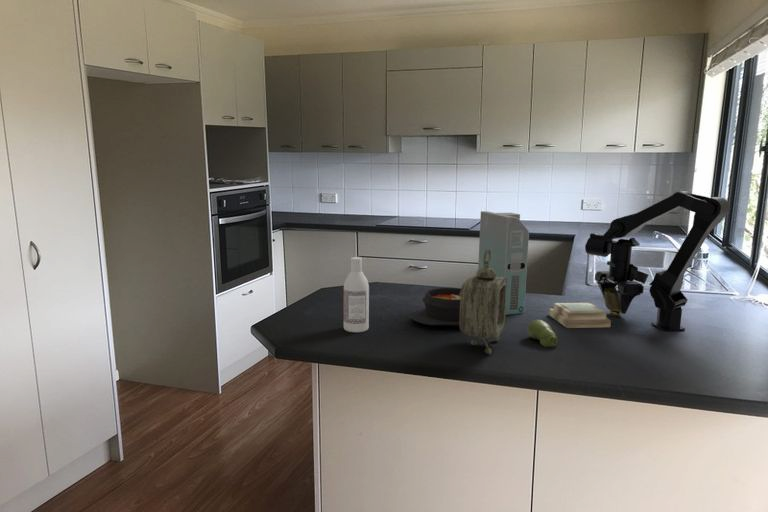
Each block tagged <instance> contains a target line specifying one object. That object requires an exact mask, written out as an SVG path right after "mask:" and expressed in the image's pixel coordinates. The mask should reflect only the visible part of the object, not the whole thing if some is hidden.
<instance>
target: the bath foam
mask: <svg viewBox="0 0 768 512" xmlns="http://www.w3.org/2000/svg"><path fill="white" fill-rule="evenodd" d="M362 266H363V259H362V257H360V256H359V257H358V256H357V257H356V256H354V257H351V258H350V272H349V273H348V275H347V277H346V278H345V280H344V283H343V329H344V330H345V331H346V332H349V333H363V332H366V331H368V330H369V327H370V285H369V281H368V279H367V277H366V276H365V274H364V272H363V267H362Z"/></svg>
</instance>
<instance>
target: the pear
mask: <svg viewBox="0 0 768 512" xmlns="http://www.w3.org/2000/svg"><path fill="white" fill-rule="evenodd" d="M527 333H528V335H529V337H530V338H532V340H538V341H539V344H540V345H541V346H543V347H544V348H547V347H548V348H550V347H552V348H553V347H556V346H557V343H558V341H559V338H558V337H557V333H556V332H554V331H553V329H552V327H551V325H550V324H549V323H547V322H546V321H545V320H542V319H533V320H531V321H530V322H529V323H528V325H527Z"/></svg>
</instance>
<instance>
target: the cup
mask: <svg viewBox="0 0 768 512" xmlns="http://www.w3.org/2000/svg"><path fill="white" fill-rule="evenodd" d="M604 292H605V300H604V305H605V307H606V309H608V310H609V311H608V314H609V315H610V316H612V317H621V316H622V315H623V314H622V313H621V309H620V304H619V299H618V294H617V292H619V290H618V289H617V288H616V287H615V288H614V289H613V288H610V287H609V288H608V289H607V288H606V289H604Z"/></svg>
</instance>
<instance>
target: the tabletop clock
mask: <svg viewBox="0 0 768 512" xmlns="http://www.w3.org/2000/svg"><path fill="white" fill-rule="evenodd" d="M487 253H489V259H488V261H487V260H486V261H485V259H486V255H487ZM490 258H491V252H490V250H489V249H487V250H486V251H485V253H484V260H483V263H484V266H485V267H483V268H480V269H479V270H478V269H477V271H476V273H475V275H474V276H471V277H469V278H468V279H466V280H465V282H463V283H462V286H461V288H460V289H461V296H460V320H459V326H458V327H459V331H461V333H463V334H464V335H465V336H467V337H474V338H473V339H471V341H470V345H472V346H476V345H477V344H478V341H477V338H481V339H482V340H483V343H484V345H485V349H484V353H485V354H486V355H491V353H492V349H491V347H489V343H488V339H490V340H491V339H493V341H495V342H499V340H500V336H501V334H502V333H503V331H504V327H505V324H506V300H507V278H506V277H497V276H496V273H495V271H494V270H493V269H492V268H489V263H490Z"/></svg>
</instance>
